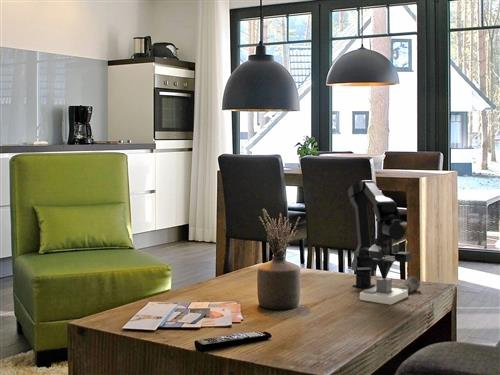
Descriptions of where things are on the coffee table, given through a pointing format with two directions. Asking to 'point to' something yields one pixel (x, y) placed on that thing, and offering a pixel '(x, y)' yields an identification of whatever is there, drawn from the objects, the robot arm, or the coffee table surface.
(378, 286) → the plug
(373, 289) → the socket plate
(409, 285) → the stone
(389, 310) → the coffee table surface
